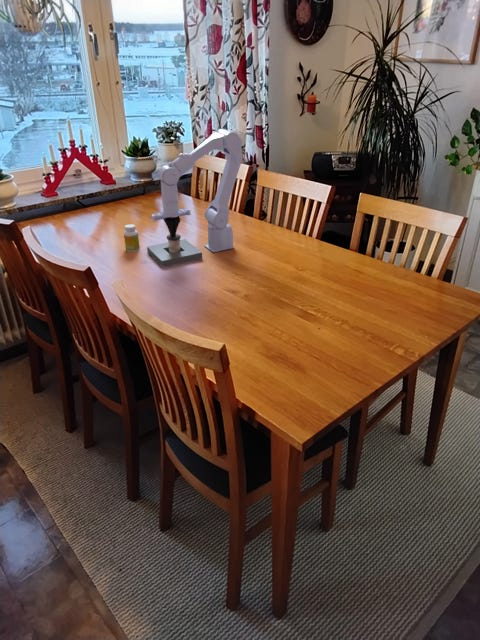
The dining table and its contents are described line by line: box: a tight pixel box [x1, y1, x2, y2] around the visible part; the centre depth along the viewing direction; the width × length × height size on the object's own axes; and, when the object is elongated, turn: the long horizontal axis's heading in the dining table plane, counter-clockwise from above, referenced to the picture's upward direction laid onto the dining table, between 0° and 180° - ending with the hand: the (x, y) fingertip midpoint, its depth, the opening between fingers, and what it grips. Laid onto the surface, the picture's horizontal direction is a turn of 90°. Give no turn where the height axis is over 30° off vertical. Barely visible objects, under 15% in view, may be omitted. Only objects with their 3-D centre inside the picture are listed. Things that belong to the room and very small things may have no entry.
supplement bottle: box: [123, 223, 140, 253], centre depth 187 cm, size 5×5×10 cm
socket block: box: [146, 238, 203, 268], centre depth 183 cm, size 16×16×2 cm
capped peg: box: [166, 233, 181, 254], centre depth 182 cm, size 5×5×8 cm
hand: (172, 236), depth 180 cm, fingers closed, pressing on capped peg
